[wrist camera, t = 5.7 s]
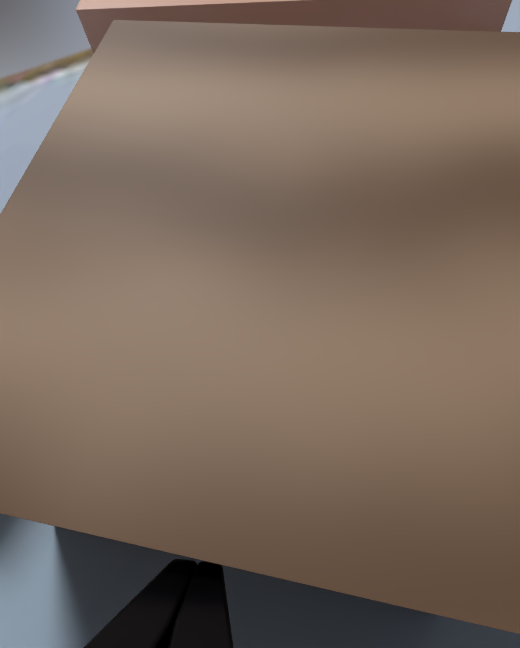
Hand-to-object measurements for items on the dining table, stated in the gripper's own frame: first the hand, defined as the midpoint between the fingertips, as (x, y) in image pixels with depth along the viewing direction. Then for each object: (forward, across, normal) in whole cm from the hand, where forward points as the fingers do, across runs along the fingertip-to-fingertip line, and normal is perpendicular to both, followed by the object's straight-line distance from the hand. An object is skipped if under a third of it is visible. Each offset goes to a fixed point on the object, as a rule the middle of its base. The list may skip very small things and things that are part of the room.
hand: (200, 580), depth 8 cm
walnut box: (+10, 0, 0) cm, 10 cm away
